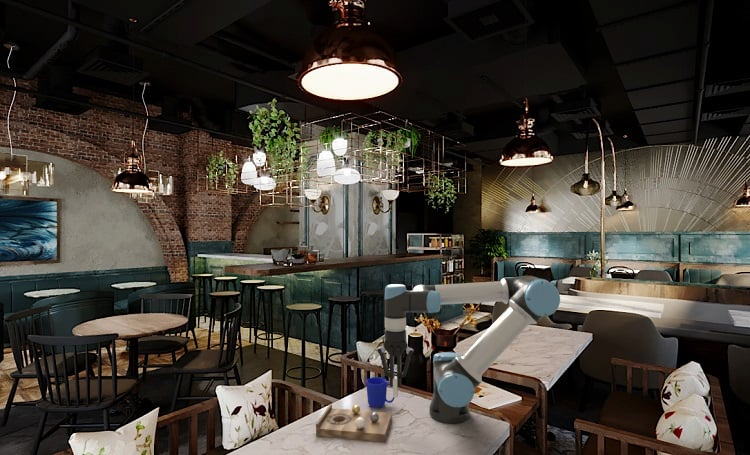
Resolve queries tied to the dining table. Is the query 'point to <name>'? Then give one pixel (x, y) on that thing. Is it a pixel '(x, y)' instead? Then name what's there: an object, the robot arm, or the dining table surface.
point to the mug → (377, 392)
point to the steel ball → (374, 417)
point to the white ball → (360, 422)
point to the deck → (353, 425)
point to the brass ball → (356, 409)
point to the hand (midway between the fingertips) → (395, 396)
